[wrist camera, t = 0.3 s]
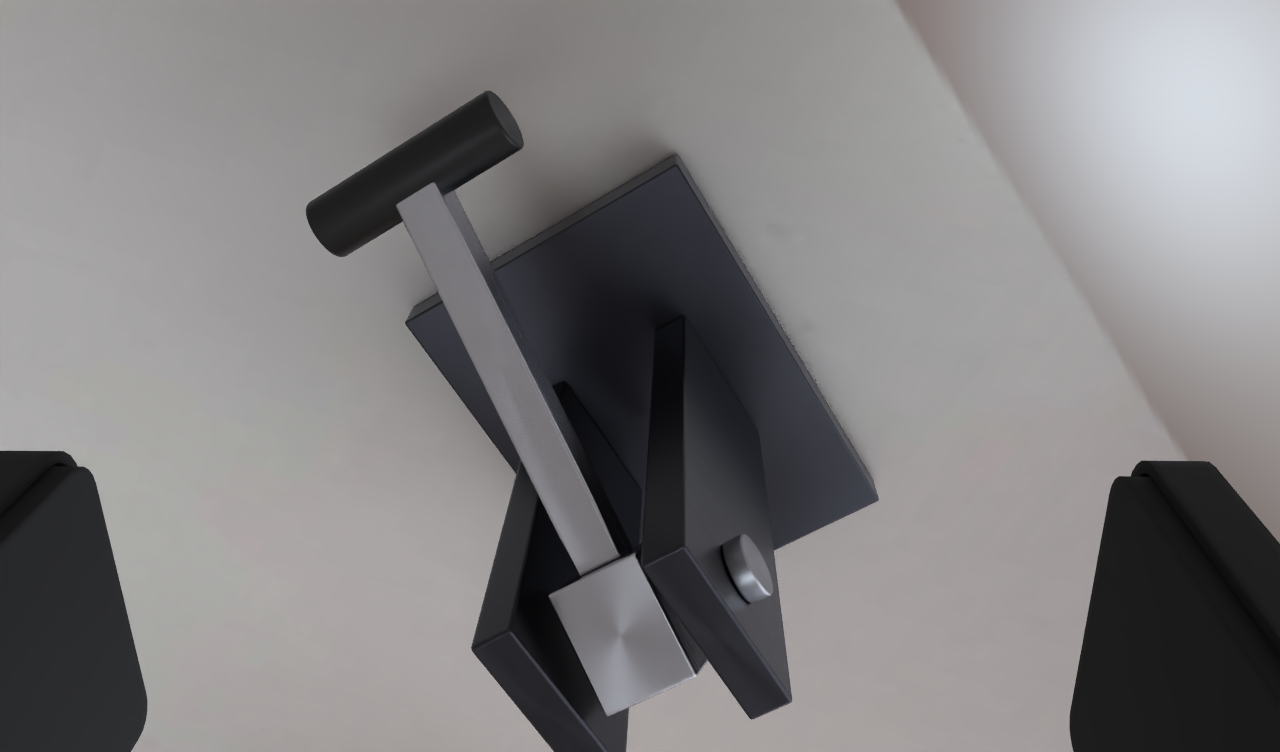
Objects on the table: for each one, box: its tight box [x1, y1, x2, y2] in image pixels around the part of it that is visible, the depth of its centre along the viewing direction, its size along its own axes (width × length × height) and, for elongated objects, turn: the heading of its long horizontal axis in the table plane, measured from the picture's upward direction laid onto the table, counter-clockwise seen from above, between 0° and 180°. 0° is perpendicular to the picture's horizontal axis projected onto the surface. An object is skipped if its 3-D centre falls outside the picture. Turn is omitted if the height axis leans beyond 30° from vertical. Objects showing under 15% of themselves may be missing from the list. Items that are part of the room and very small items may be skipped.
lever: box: [306, 91, 708, 716], centre depth 25 cm, size 13×5×2 cm, turn 32°
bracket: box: [405, 154, 879, 752], centre depth 29 cm, size 12×9×13 cm
